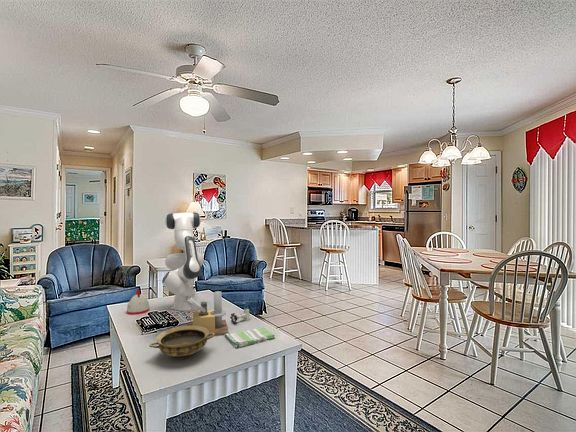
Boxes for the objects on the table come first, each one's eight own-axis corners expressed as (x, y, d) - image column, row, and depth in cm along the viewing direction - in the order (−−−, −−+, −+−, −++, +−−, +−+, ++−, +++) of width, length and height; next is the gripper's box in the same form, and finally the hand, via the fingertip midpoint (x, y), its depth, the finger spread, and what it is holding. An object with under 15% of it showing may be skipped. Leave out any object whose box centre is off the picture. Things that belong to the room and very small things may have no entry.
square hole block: (193, 325, 184) (192, 291, 183) (225, 321, 189) (224, 289, 188) (192, 332, 172) (192, 297, 172) (226, 329, 177) (226, 294, 177)
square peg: (200, 319, 181) (200, 302, 180) (207, 318, 182) (206, 301, 181) (200, 321, 177) (200, 304, 177) (207, 320, 178) (206, 303, 178)
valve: (246, 317, 200) (230, 322, 192) (246, 307, 200) (230, 312, 191) (252, 320, 195) (236, 325, 187) (252, 310, 195) (236, 314, 187)
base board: (186, 325, 186) (186, 323, 186) (225, 321, 193) (225, 319, 193) (185, 339, 167) (185, 336, 167) (228, 334, 174) (228, 331, 174)
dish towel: (223, 337, 170) (223, 331, 170) (261, 329, 182) (261, 323, 182) (235, 350, 155) (235, 343, 155) (275, 339, 167) (275, 333, 167)
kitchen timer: (129, 316, 204) (128, 293, 204) (124, 310, 215) (124, 289, 215) (151, 311, 213) (151, 290, 212) (146, 306, 224) (146, 286, 223)
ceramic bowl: (211, 339, 167) (211, 321, 166) (219, 359, 145) (219, 338, 144) (150, 349, 155) (149, 330, 155) (148, 373, 133) (148, 350, 133)
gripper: (190, 295, 167) (209, 311, 170) (191, 286, 187) (208, 300, 190) (181, 304, 166) (201, 320, 169) (183, 294, 186) (200, 308, 189)
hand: (204, 309), depth 179 cm, fingers closed on square peg, 4 cm apart
